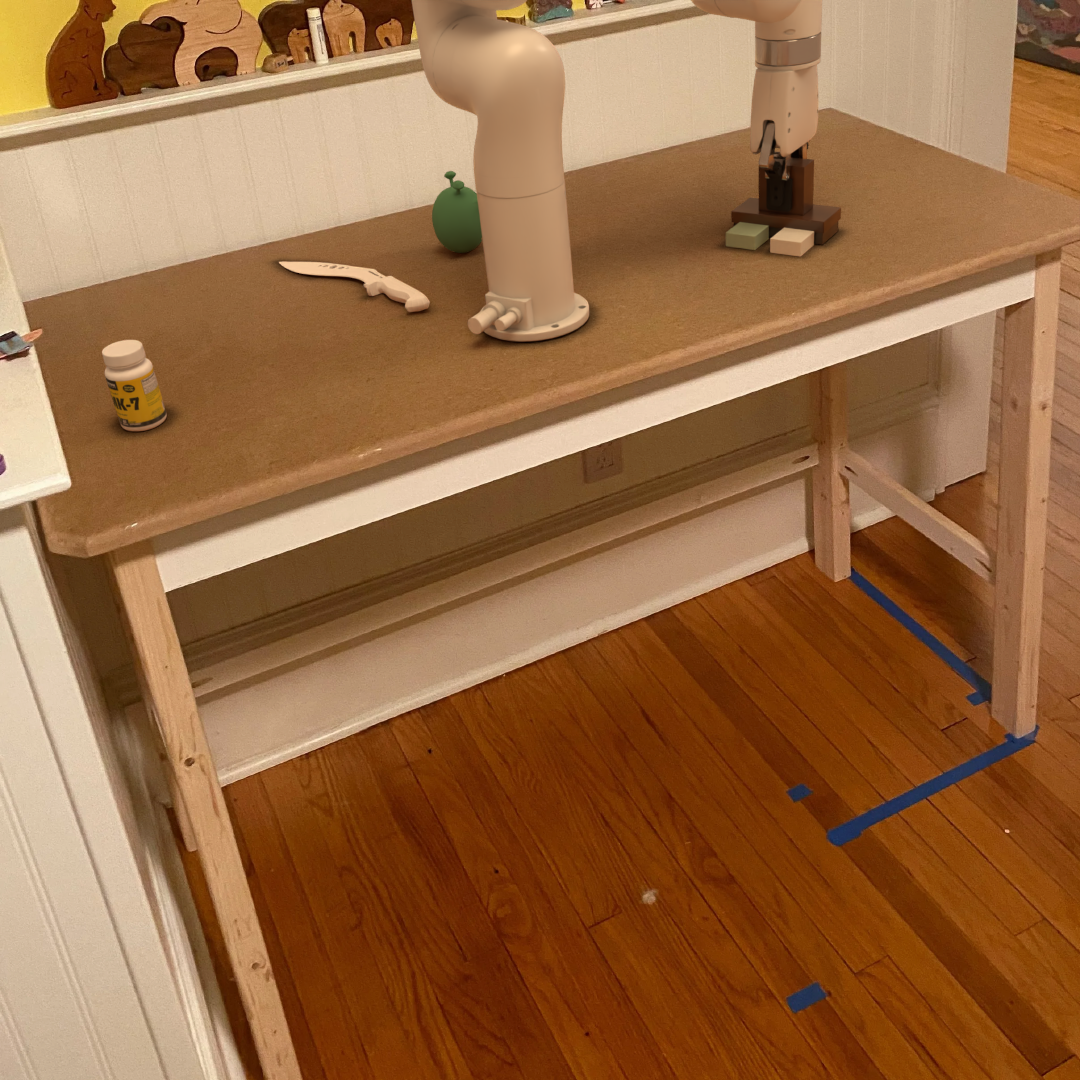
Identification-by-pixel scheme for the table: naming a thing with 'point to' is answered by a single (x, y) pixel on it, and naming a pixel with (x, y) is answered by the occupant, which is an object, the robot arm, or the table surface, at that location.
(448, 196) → the alien toy
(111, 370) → the supplement bottle
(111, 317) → the table surface
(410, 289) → the knife
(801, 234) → the chip
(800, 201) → the brown inverted t block
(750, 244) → the chip
